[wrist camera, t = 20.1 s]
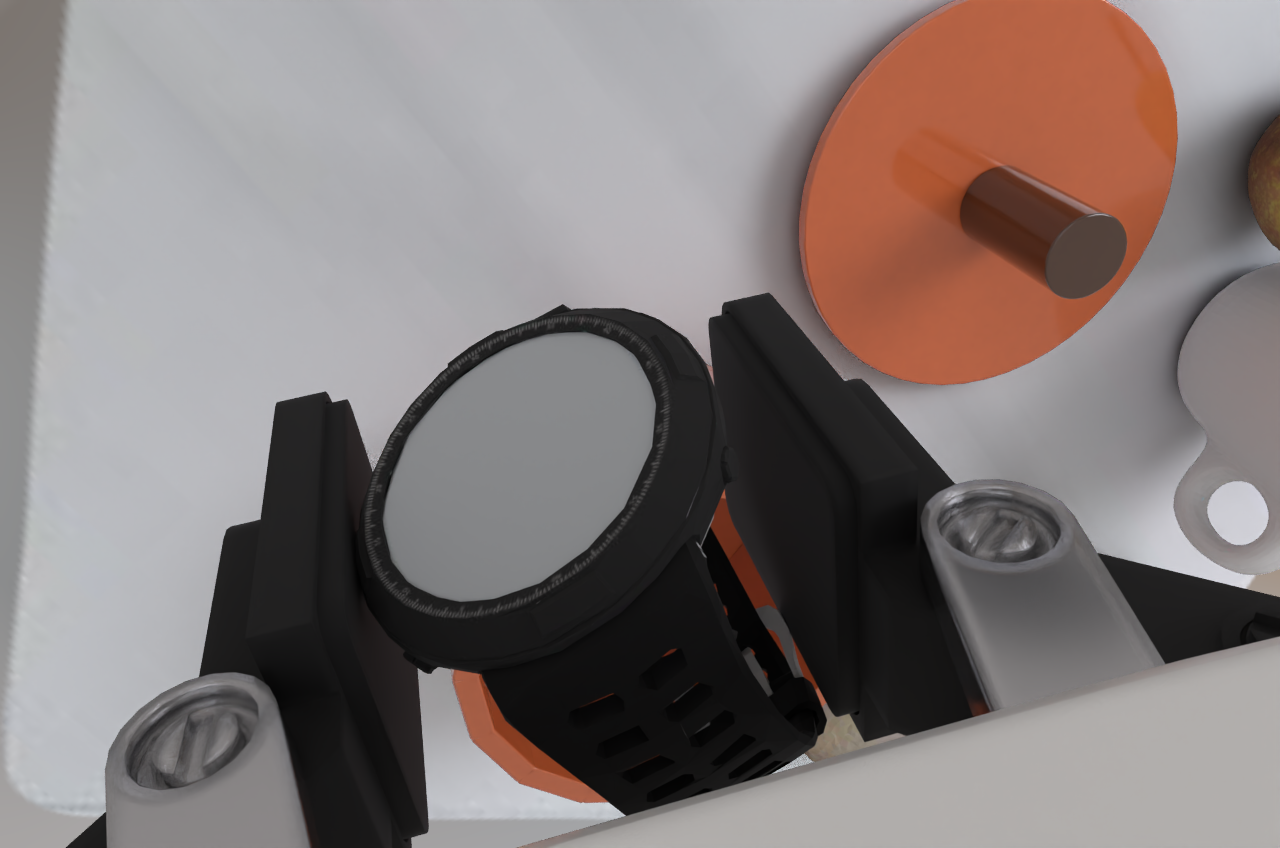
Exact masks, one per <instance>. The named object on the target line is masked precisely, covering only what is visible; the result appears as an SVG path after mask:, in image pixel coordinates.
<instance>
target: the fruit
mask: <svg viewBox="0 0 1280 848" xmlns="http://www.w3.org/2000/svg"><path fill="white" fill-rule="evenodd" d="M1248 194H1249V199H1250V203H1251V206H1252V209H1253V212H1254V215H1255V217H1256V220H1257V222H1258V224H1259V226H1260V228H1261V230H1262V232H1263V233H1264V234H1265V236H1266V237H1267V238H1268V240H1269V241H1270V242H1271V243H1272V244H1273V245H1274V246H1275V247H1277V248H1278V249H1279V250H1280V114H1279V115H1278V117H1277V118H1276V119H1275V120H1274V121H1273V122H1272V123H1271V125H1270V126H1269V127H1268V128H1267V130H1266V131H1265V132H1264V134H1263V135H1262V137H1261V138H1260V139H1259V141H1258V143H1257V144H1256V146H1255V148H1254V150H1253V152H1252V155H1251V158H1250V161H1249V168H1248Z"/></svg>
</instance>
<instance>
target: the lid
mask: <svg viewBox="0 0 1280 848" xmlns="http://www.w3.org/2000/svg"><path fill="white" fill-rule="evenodd" d="M1177 140H1178V135H1177V112H1176V106H1175V99H1174V93H1173V89H1172V86H1171V82H1170V79H1169V76H1168V73H1167V70H1166V67H1165V65H1164V63H1163V61H1162V59H1161V57H1160V55H1159V53H1158V51H1157V49H1156V47H1155V46H1154V44H1153V43H1152V42H1151V40H1150V39H1149V38H1148V36H1147V35H1146V33H1145V32H1144V31H1143V29H1142V28H1141V27H1140V26H1139V25H1138V24H1137V23H1136V22H1135V21H1134V20H1132V19H1131V18H1130V17H1129V16H1128V15H1127V14H1126V13H1125V12H1124V11H1122V10H1121V9H1119V8H1117V7H1116V6H1114V5H1113V4H1111V3H1110V2H1108V1H1107V0H955V1H952V2H950V3H947V4H945V5H944V6H942V7H940V8H938V9H937V10H935V11H933V12H931V13H930V14H928V15H926V16H924V17H923V18H921V19H919V20H918V21H917V22H915V23H914V24H913V25H911V26H910V27H909V28H907V29H906V30H905V31H903V32H902V33H901V34H899V35H898V36H897V37H895V38H894V39H893V40H892V41H891V42H890V43H889V44H888V45H887V46H886V47H885V48H884V49H883V50H881V51H880V52H879V53H878V54H877V55H876V56H875V57H874V58H873V59H872V60H871V61H870V63H869V64H868V65H867V66H866V67H865V68H864V70H863V71H862V72H861V73H860V74H859V75H858V77H857V78H856V79H855V80H854V81H853V83H852V84H851V86H850V87H849V88H848V90H847V91H846V93H845V94H844V96H843V97H842V99H841V100H840V102H839V103H838V105H837V106H836V108H835V110H834V111H833V113H832V115H831V117H830V119H829V121H828V123H827V125H826V127H825V129H824V130H823V132H822V134H821V137H820V139H819V142H818V144H817V147H816V149H815V152H814V154H813V157H812V159H811V162H810V166H809V170H808V173H807V177H806V181H805V185H804V188H803V195H802V202H801V209H800V216H799V247H800V255H801V264H802V269H803V273H804V277H805V281H806V285H807V288H808V291H809V294H810V296H811V298H812V300H813V303H814V305H815V307H816V310H817V311H818V313H819V315H820V316H821V318H822V319H823V321H824V323H825V324H826V326H827V327H828V329H829V330H830V331H831V332H832V333H833V334H834V335H835V337H836V338H837V339H838V340H839V341H840V342H841V343H842V344H843V345H844V346H845V348H846V349H848V350H849V351H850V352H851V353H852V354H854V355H855V356H856V357H857V358H859V359H860V360H861V361H862V362H864V363H866V364H867V365H869V366H871V367H873V368H874V369H876V370H878V371H880V372H882V373H885V374H887V375H890V376H893V377H895V378H898V379H901V380H906V381H911V382H916V383H921V384H936V385H948V384H963V383H969V382H974V381H979V380H984V379H988V378H991V377H994V376H997V375H1001V374H1004V373H1007V372H1009V371H1012V370H1014V369H1016V368H1019V367H1021V366H1023V365H1025V364H1028V363H1030V362H1032V361H1033V360H1035V359H1037V358H1039V357H1040V356H1042V355H1044V354H1046V353H1048V352H1049V351H1051V350H1052V349H1054V348H1055V347H1057V346H1058V345H1060V344H1061V343H1062V342H1064V341H1065V340H1067V339H1068V338H1070V337H1071V336H1072V335H1073V334H1074V333H1076V332H1077V331H1078V330H1079V329H1080V328H1082V327H1083V326H1084V325H1085V324H1086V323H1087V322H1089V321H1090V320H1091V319H1092V318H1093V317H1094V316H1095V315H1096V314H1097V313H1098V312H1099V311H1100V310H1101V309H1102V308H1103V307H1104V306H1105V305H1106V304H1107V303H1108V301H1109V300H1110V299H1111V298H1112V296H1113V295H1114V294H1115V293H1116V292H1117V290H1118V289H1119V288H1120V287H1121V286H1122V284H1123V283H1124V282H1125V280H1126V279H1127V277H1128V276H1129V274H1130V273H1131V272H1132V270H1133V269H1134V267H1135V266H1136V264H1137V263H1138V261H1139V260H1140V258H1141V256H1142V254H1143V252H1144V251H1145V249H1146V247H1147V245H1148V243H1149V241H1150V240H1151V238H1152V236H1153V233H1154V231H1155V229H1156V226H1157V224H1158V222H1159V220H1160V217H1161V215H1162V212H1163V209H1164V206H1165V203H1166V200H1167V197H1168V194H1169V190H1170V187H1171V182H1172V177H1173V172H1174V167H1175V161H1176V151H1177Z"/></svg>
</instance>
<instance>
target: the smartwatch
mask: <svg viewBox="0 0 1280 848" xmlns="http://www.w3.org/2000/svg"><path fill="white" fill-rule="evenodd" d="M738 473H739V461H738V458H737V455H736V452H735V450H734V449H733V448H732V447H727V436H726V426H725V418H724V413H723V408H722V405H721V403H720V400H719V397H718V394H717V392H716V389H715V386H714V384H713V381H712V378H711V376H710V373H709V370H708V368H707V365H706V363H705V362H704V360H703V359H702V358H701V356H700V355H699V354H698V352H697V351H696V350H695V348H694V347H693V346H692V344H691V343H690V342H689V340H688V339H687V338H686V337H684V336H683V335H681V334H680V333H678V332H677V331H675V330H674V329H672V328H671V327H669V326H668V325H666V324H665V323H663V322H662V321H660V320H659V319H656V318H654V317H651V316H649V315H646V314H643V313H638V312H635V311H631V310H628V309H625V308H592V309H574V310H571V309H570V308H568V307H566V306H565V305H563V304H562V305H561V306H559V307H557V308H555V309H553V310H551V311H549V312H547V313H545V314H544V315H542V316H540V317H538V318H536V319H534V320H531V321H528V322H526V323H523V324H520V325H517V326H515V327H512V328H510V329H507V330H505V331H503V330H501V331H496V332H494V333H493V334H491V335H489V336H488V337H486V338H484V339H482V340H481V341H479V342H477V343H476V344H474V345H472V346H471V347H469V348H468V349H467V350H465V351H464V352H463V353H461V354H460V355H459V356H457V357H456V358H455V359H453V360H452V361H451V362H449V363H448V367H447V368H446V369H445V370H444V371H442V372H441V373H440V374H439V375H438V376H437V377H436V378H435V379H434V381H433V382H432V383H431V384H430V385H429V386H428V387H427V388H426V389H425V390H424V391H423V392H422V393H421V395H420V396H419V397H418V398H417V399H416V400H415V401H414V402H413V403H412V404H411V405H410V407H409V408H408V410H407V411H406V413H405V414H404V416H403V417H402V419H401V420H400V422H399V423H398V425H397V426H396V428H395V429H394V431H393V432H392V434H391V435H390V437H389V439H388V441H387V443H386V446H385V448H384V450H383V452H382V454H381V456H380V458H379V461H378V463H377V465H376V467H375V469H374V471H373V474H372V476H371V479H370V482H369V485H368V488H367V491H366V494H365V497H364V500H363V504H362V508H361V511H360V519H359V529H358V530H357V533H356V537H355V552H356V564H357V569H358V572H359V576H360V580H361V587H362V591H363V595H364V598H365V601H366V604H367V607H368V609H369V611H370V612H371V613H372V615H373V616H374V618H375V619H376V620H377V622H378V623H379V624H380V626H381V627H382V629H383V630H384V631H385V633H386V634H387V636H388V637H389V638H390V639H392V640H393V641H394V642H395V643H396V644H397V645H399V646H400V647H401V648H402V649H403V650H405V652H404V653H403V656H404V658H405V659H406V660H407V661H409V662H410V663H412V664H413V665H415V666H416V667H417V668H419V669H420V670H422V671H423V672H425V673H427V674H431V673H432V672H433V670H434V669H436V668H437V667H442V668H448V669H453V670H459V671H464V672H470V673H476V674H481V675H482V678H483V680H484V682H485V685H486V686H487V688H488V690H489V692H490V694H491V696H492V697H493V699H494V701H495V703H496V705H497V706H498V708H499V710H500V712H501V714H502V715H503V717H504V719H505V721H506V722H507V723H509V724H510V725H511V726H512V727H513V728H515V729H516V730H517V731H518V732H519V733H521V734H522V735H523V736H524V737H525V738H526V739H528V740H529V741H530V742H531V743H532V744H534V745H535V746H536V747H537V748H538V749H540V750H541V751H542V752H544V753H545V754H546V755H548V756H549V757H550V758H551V759H553V760H554V761H555V762H557V763H558V764H559V765H561V766H562V767H563V768H565V769H566V770H567V771H568V772H570V773H571V774H572V775H574V776H575V777H576V778H578V779H579V780H580V781H582V782H583V783H584V784H586V785H587V786H588V787H590V788H591V789H592V790H594V791H595V792H596V793H598V794H599V795H600V796H601V797H603V798H604V799H605V800H607V801H608V802H609V803H610V804H612V805H613V806H614V807H616V808H617V809H618V810H619V811H621V812H622V813H623V814H625V815H626V816H628V815H632V814H635V813H638V812H642V811H645V810H649V809H652V808H656V807H659V806H663V805H666V804H670V803H673V802H677V801H680V800H684V799H687V798H691V797H694V796H698V795H701V794H705V793H708V792H712V791H715V790H719V789H722V788H726V787H729V786H733V785H736V784H739V783H743V782H746V781H750V780H753V779H757V778H760V777H764V776H767V775H770V774H772V773H773V772H775V771H777V770H778V769H780V768H782V767H784V766H785V765H787V764H789V763H790V762H792V761H793V760H795V759H796V758H798V757H799V756H801V755H802V754H804V753H805V752H807V751H808V750H810V749H811V748H813V747H814V746H815V744H816V742H817V739H818V736H820V735H821V734H823V733H824V730H825V726H826V723H827V718H826V715H825V713H824V710H823V707H822V705H821V702H820V700H819V697H818V695H817V692H816V690H815V688H814V686H813V684H812V682H810V681H809V680H807V679H806V678H804V676H803V674H802V671H801V668H800V666H799V663H798V659H797V655H796V651H795V647H794V643H793V639H792V636H791V634H790V632H789V629H788V627H787V625H786V623H785V621H784V619H783V617H782V615H781V613H780V611H779V610H777V609H775V608H773V607H771V606H769V605H766V606H763V607H760V608H757V609H755V608H754V606H753V604H752V602H751V600H750V598H749V596H748V594H747V593H746V591H745V589H744V587H743V585H742V583H741V581H740V580H739V578H738V576H737V574H736V572H735V570H734V568H733V567H732V565H731V563H730V561H729V559H728V557H727V555H726V554H725V552H724V550H723V548H722V546H721V544H720V543H719V541H718V539H717V537H716V535H715V534H714V532H713V530H712V529H711V527H710V525H711V523H712V520H713V517H714V513H715V511H716V508H717V506H718V504H719V501H720V499H721V496H722V494H723V492H724V489H725V487H726V485H727V484H729V483H730V482H732V481H736V480H737V478H738ZM714 584H716V587H717V590H716V588H715V586H714ZM717 591H718V592H717ZM723 606H724V607H725V608H726V609H727V615H726V612H725V610H724V607H723ZM767 629H769V630H772V631H774V632H775V633H776V634H777V636H778V637H779V639H780V642H781V645H782V648H783V651H784V654H785V656H784V655H783V653H782V652H781V650H780V648H779V647H778V645H777V644H776V642H775V641H774V639H773V637H772V636H771V634H770V633H769V631H768V630H767ZM672 649H677V650H675V651H674V652H673V653H671V654H668V655H666V656H664V655H665V654H666V653H667V652H668V651H670V650H672ZM751 649H752V650H753V651H754V652H755V655H753V653H752V651H751ZM662 656H664V657H662ZM785 657H786V658H785ZM763 670H764V671H765V672H766V673H767V678H766V676H765V674H764V672H763ZM696 683H697V684H696ZM695 684H696V685H695ZM694 685H695V686H694ZM613 693H614V694H613ZM610 694H611V695H610ZM608 695H609V696H608ZM606 696H607V697H606ZM603 697H604V698H603ZM601 698H602V699H601ZM596 700H597V701H596ZM673 701H675V702H673ZM591 702H592V703H591ZM589 703H590V704H589ZM584 705H585V706H584ZM658 755H659V756H658ZM649 759H650V760H649ZM647 760H648V761H647ZM645 761H646V762H645ZM632 767H633V768H632Z"/></svg>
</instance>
